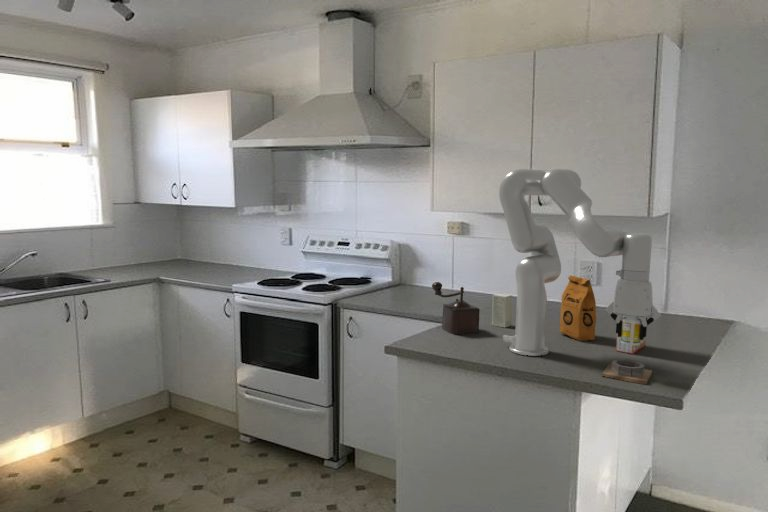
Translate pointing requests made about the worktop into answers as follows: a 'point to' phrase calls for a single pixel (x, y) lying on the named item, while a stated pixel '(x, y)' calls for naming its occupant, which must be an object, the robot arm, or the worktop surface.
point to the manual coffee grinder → (458, 314)
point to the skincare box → (501, 310)
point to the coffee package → (578, 310)
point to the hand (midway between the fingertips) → (630, 337)
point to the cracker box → (629, 348)
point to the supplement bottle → (631, 330)
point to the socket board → (628, 371)
